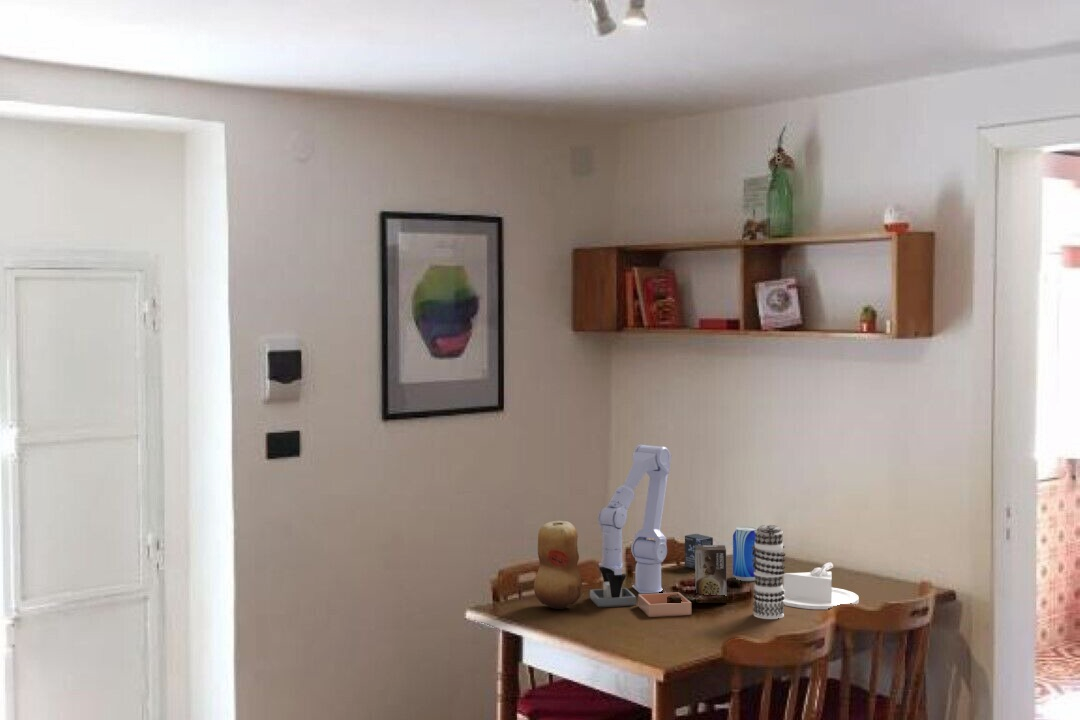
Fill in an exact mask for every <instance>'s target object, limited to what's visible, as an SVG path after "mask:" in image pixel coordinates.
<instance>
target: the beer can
mask: <svg viewBox="0 0 1080 720" xmlns="http://www.w3.org/2000/svg"><path fill="white" fill-rule="evenodd" d="M757 529H758V528H757V527H755V526H747V525H746V526H737V527H735V531H734V532H733V535H732V575H733V577H734V579H735V578H736V580H737V579H738V580H737V581H740V580H741V581H742V582H753V581H754V582H755V574H754V570H755V569H754V567H753V563H754V562H753V558H754V557H755V556H754V555H753V554H752V551H753V549H752V546H753V545H755V531H756V530H757ZM755 553H756V552H755Z"/></svg>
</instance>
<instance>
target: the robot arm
mask: <svg viewBox="0 0 1080 720" xmlns="http://www.w3.org/2000/svg"><path fill="white" fill-rule="evenodd" d="M671 460H672V454H671V452H670V450H669V449H668V447H666V446H656V445H655V446H654V445H648V444H647V445H645V444H643V443H642V444H639V445H637V446H636V447H635V449H634V452H633V454H632V462H633V463H632V465H631V467H630V469H629V472H628V473H627V476H626V478H625V481H624V483H623V485H620V486H618V487H617V488H616V489H615V492H614V494H613V495H612V497H611V499H609V500H610V501H609V502H608V504H607V506H605V507H602V509H601V510H599V513H598V517H597V521H598V524H599V525H600V531H601V533H602V562H599V563H598V566H599V567H598V569H599V571H600V573H601V576H602V579H603V582H609V584H610V590H611V596H612V598H614V597H619V596H620V592H621V587H622V588H623V584H624V581H625V580H626V577H627V574H626V573H622V572H623V570H622V569H623V566H624V563H623V527H624V526H625V525H626V523H627V517H628V512H629V511H628V510H629V508H630V506H631V504H632V503H633V501H634V499H635V496H636V495H635V492H634V491H635V489H636V488H637V486H638V485H639V484H640V482H641V480H642V479H643V478H644V476H645V474H646V473H647V475H648V476H649V479H648V480H649V481H648V487H647V488H648V489H647V496H646V502H645V510H644V517H643V523H642V528H641V529H640V530H638V531H637V532H636V533H635V534H634V540H633V542H632V543H631V548H630V550H631V555H632V556H633V558H634V561H635V562H636V563H635V572H634V573H635V575H634V576H635V577H634V578H635V581H634V582H635V584H633V585H632V586H631V587H632V588H633V589H634V590H636V592H638V594H656V593H659V592H661V591H662V590H663V587H662V563H663V562H664V560H665V559H666V557H667V554H668V547H667V540H668V538H667V537H666V536H665V535H664V533H663V532H662V531H661V527H662V520H663V519H662V517H663V512H664V505H665V498H666V490H667V485H668V484H667V483H668V477H669V476H668V475H669V473H670V469H671Z"/></svg>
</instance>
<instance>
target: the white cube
mask: <svg viewBox="0 0 1080 720" xmlns="http://www.w3.org/2000/svg"><path fill="white" fill-rule="evenodd" d="M602 583H603V584H602V585H603V588H602V589H603V595H604V598H612V596H611V590H610V584H609V582H604V581H603V582H602ZM622 588H623V586H622V587H621V592H620V596H619V597H622Z"/></svg>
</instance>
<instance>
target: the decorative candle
mask: <svg viewBox="0 0 1080 720" xmlns="http://www.w3.org/2000/svg"><path fill="white" fill-rule="evenodd" d="M783 534H784V531H782V529H781V527H780V526H778V525H773V524H764V525H763V524H762V525H759V526H758V528H757V530H756V531H755V545H753V546H752V549H753V551H752V554H753V555H754V556H755V557H754V558H753V562H754V563H753V567H754V569H755V570H754V574H755V580H754V589H753V591H752V593H753V594H754V595H753V596H752V597H753V599H754V601H753V603H752V606H753V609H752V611H753V616H754V617H756V618H759V619H763V620H779V619H782V618H784V617H785V614H784V612H785V608H784V607H785V606H786V605H785V604H784V603H783V601H782V600H784V596H782V595H783V594H784V591H783V588H784V583H783V577H784V573H785V571H784V569H785V568H786V567H785V565H783V563H784V562H786V559H785V558H784V557H785V556H786V553H785V552H784V551H783V549H784V548H785V545H784V541H783ZM755 552H756V553H755ZM778 618H779V619H778Z"/></svg>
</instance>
